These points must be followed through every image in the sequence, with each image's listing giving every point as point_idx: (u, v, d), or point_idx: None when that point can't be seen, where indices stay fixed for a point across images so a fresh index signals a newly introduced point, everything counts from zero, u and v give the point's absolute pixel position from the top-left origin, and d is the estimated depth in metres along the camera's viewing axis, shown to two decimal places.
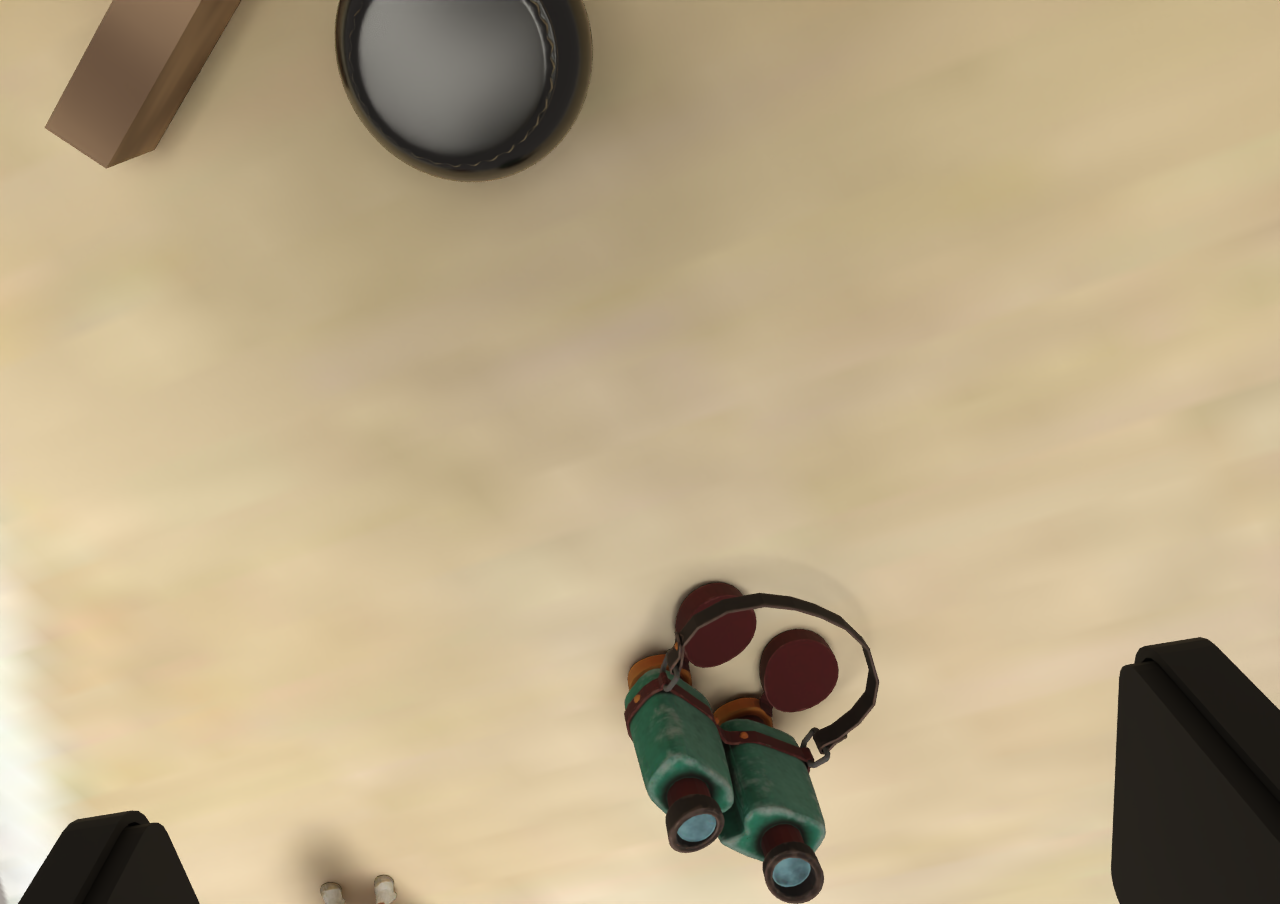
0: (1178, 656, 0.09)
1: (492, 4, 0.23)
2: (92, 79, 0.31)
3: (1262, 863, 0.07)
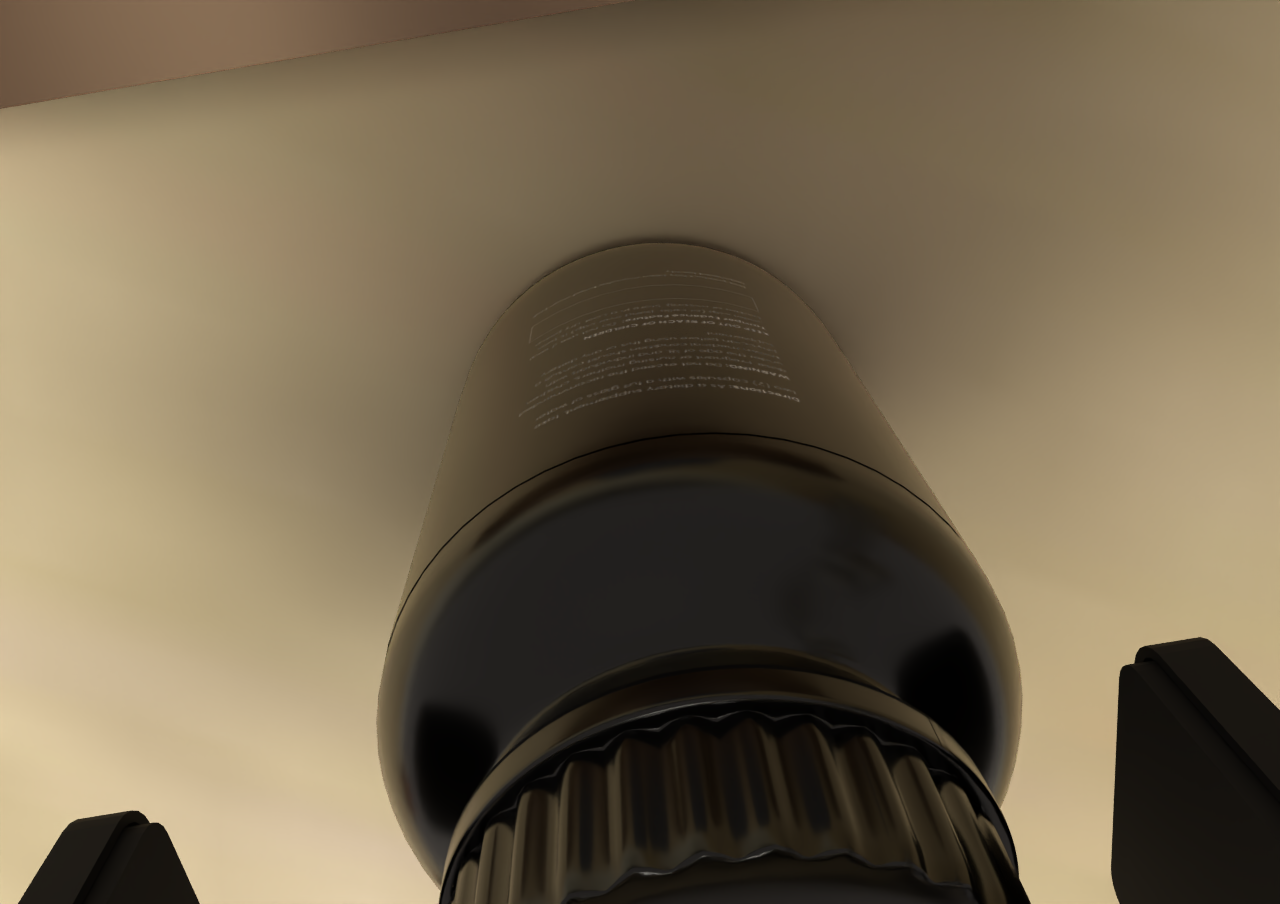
0: (1178, 656, 0.09)
1: None
2: None
3: (1262, 863, 0.07)
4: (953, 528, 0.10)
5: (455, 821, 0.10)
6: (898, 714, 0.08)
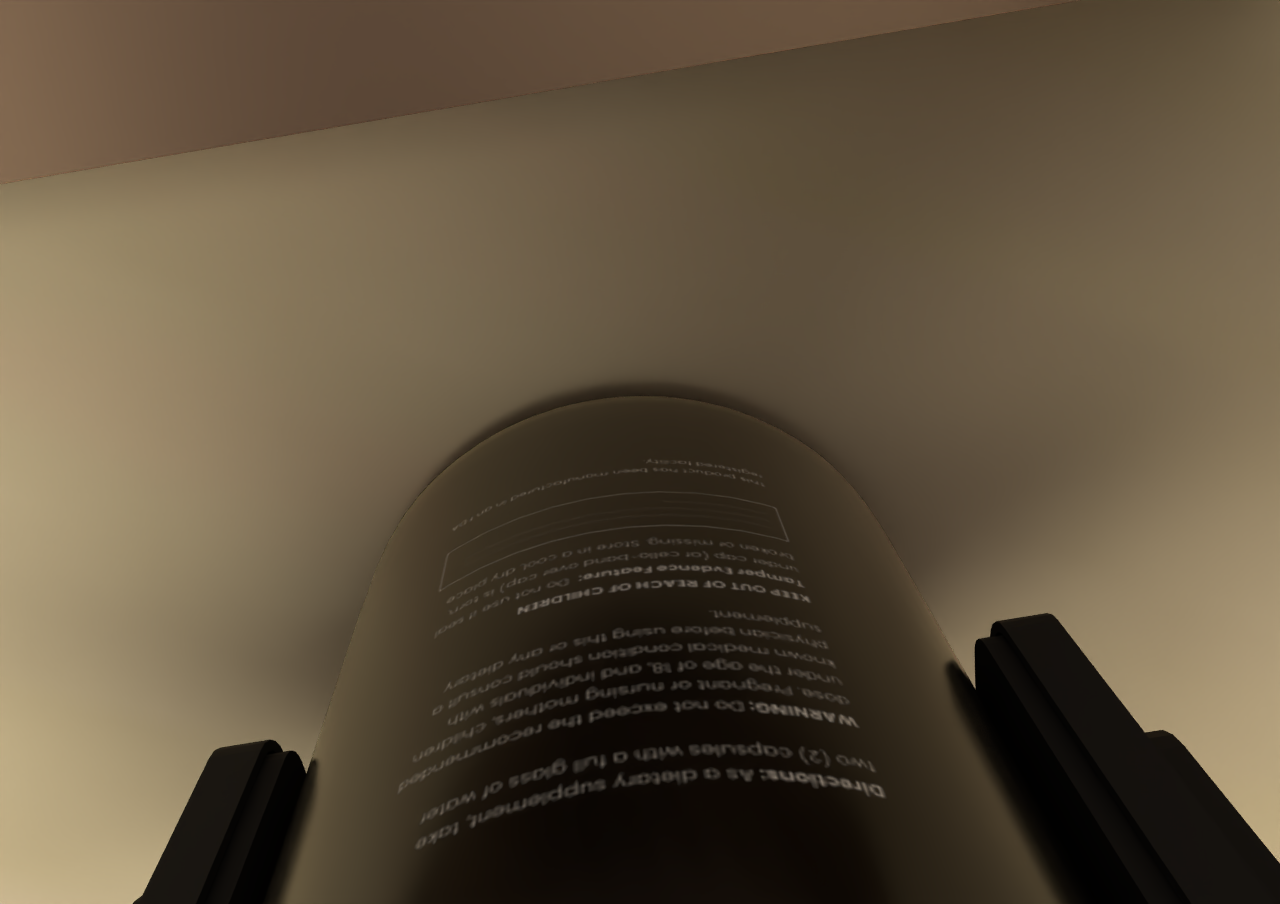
0: (1022, 629, 0.10)
1: None
2: None
3: (1071, 815, 0.08)
4: None
5: None
6: None
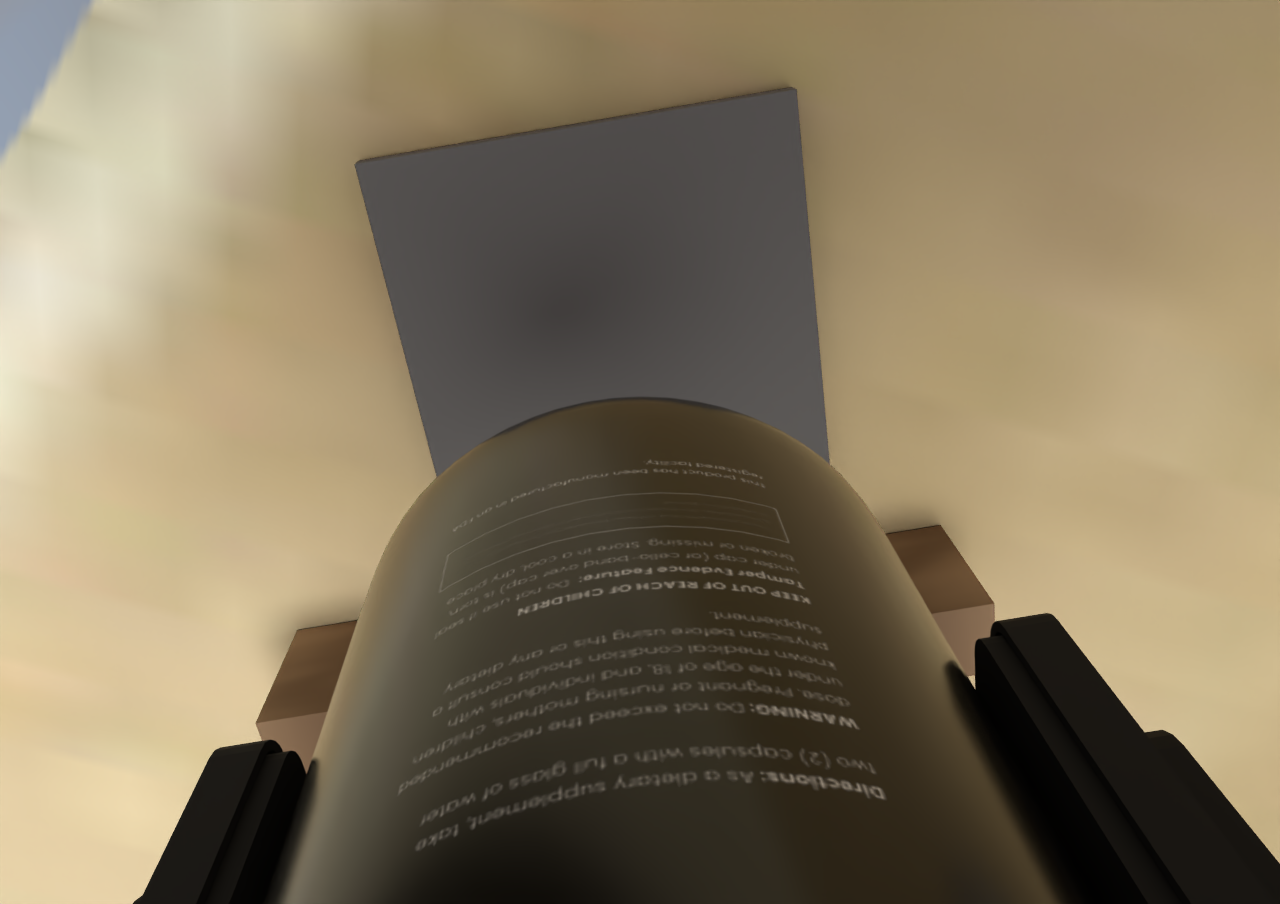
0: (1021, 629, 0.10)
1: None
2: None
3: (1070, 814, 0.08)
4: None
5: None
6: None
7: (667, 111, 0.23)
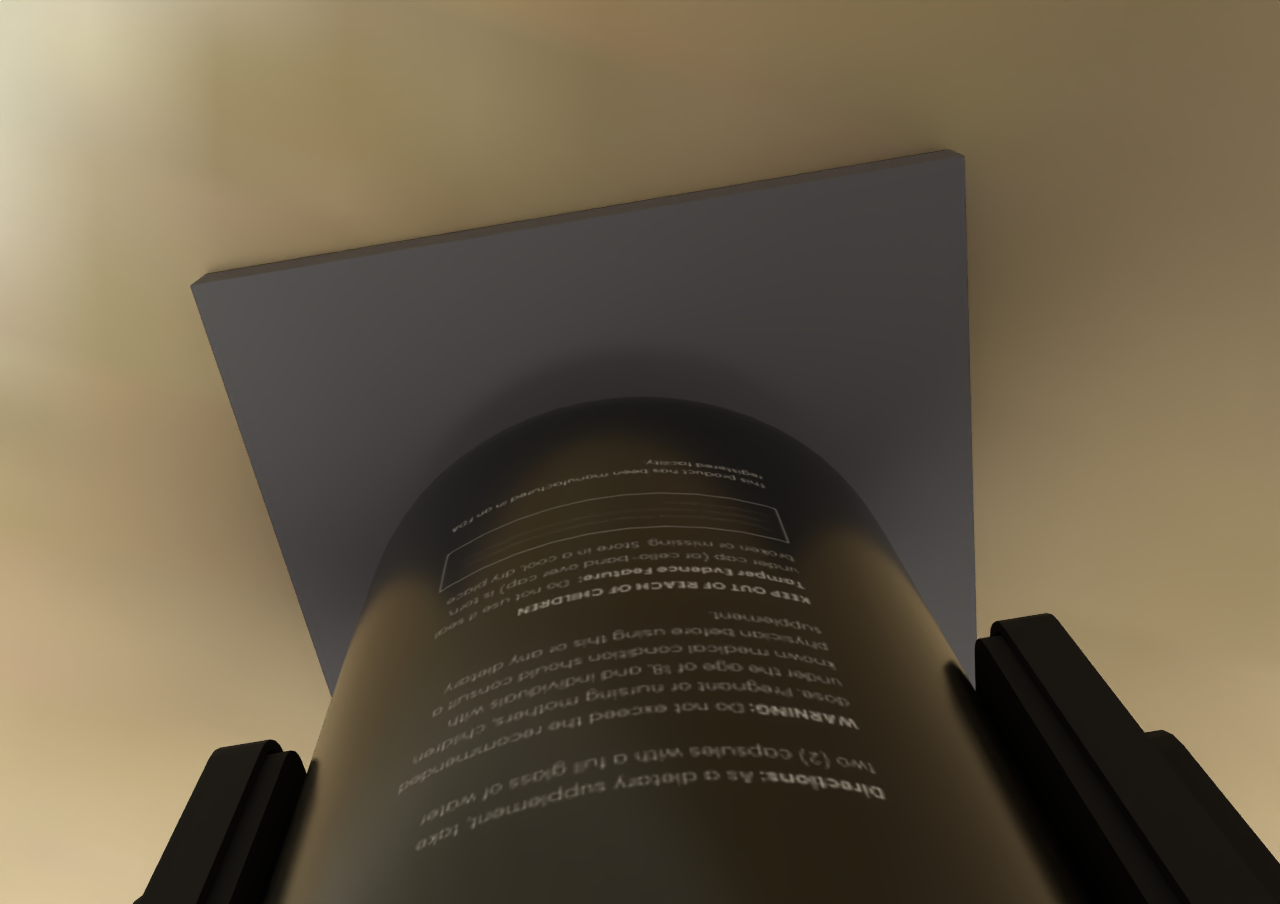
0: (1021, 629, 0.10)
1: None
2: None
3: (1070, 814, 0.08)
4: None
5: None
6: None
7: (737, 194, 0.13)
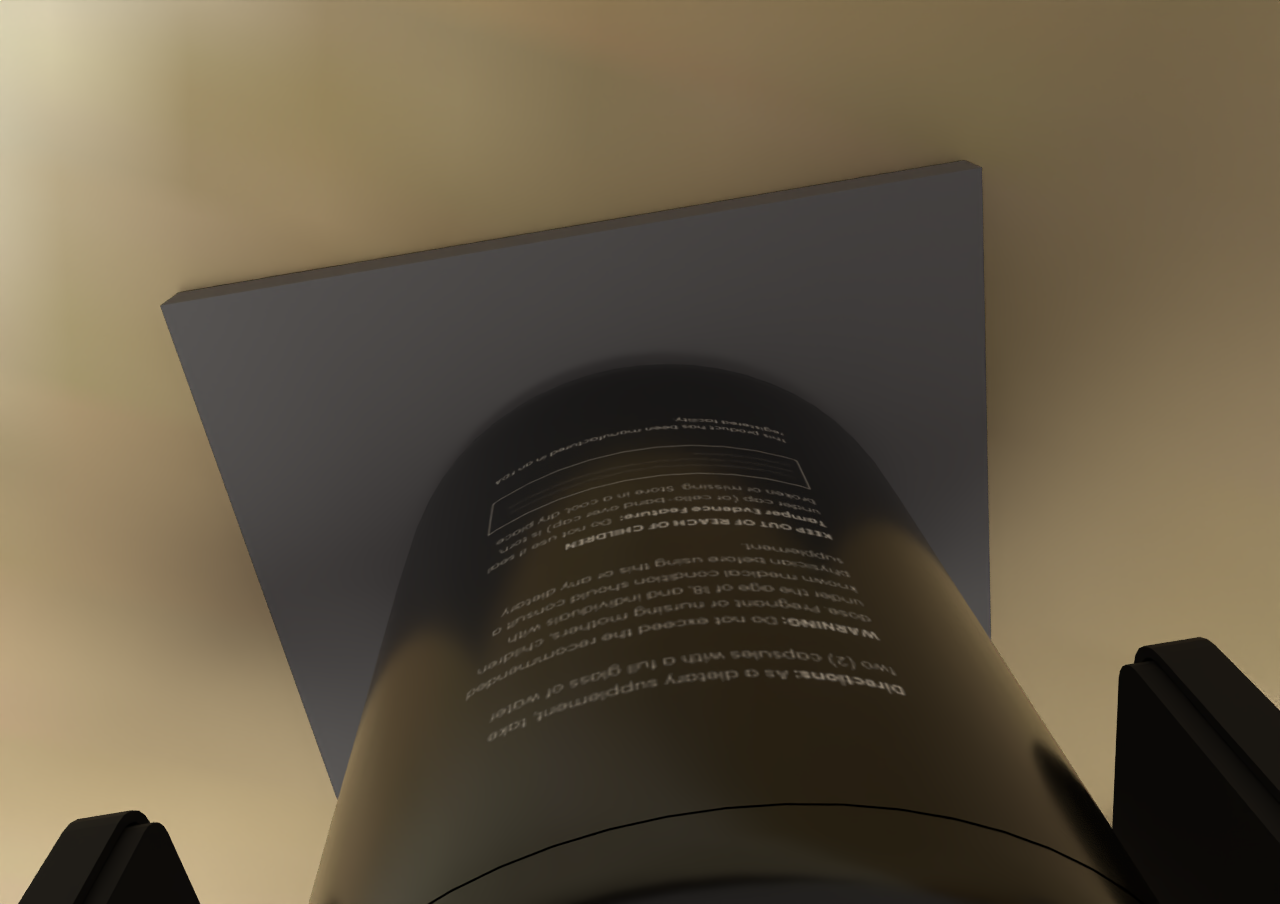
0: (1177, 656, 0.09)
1: None
2: None
3: (1261, 862, 0.07)
4: None
5: None
6: None
7: (741, 208, 0.12)
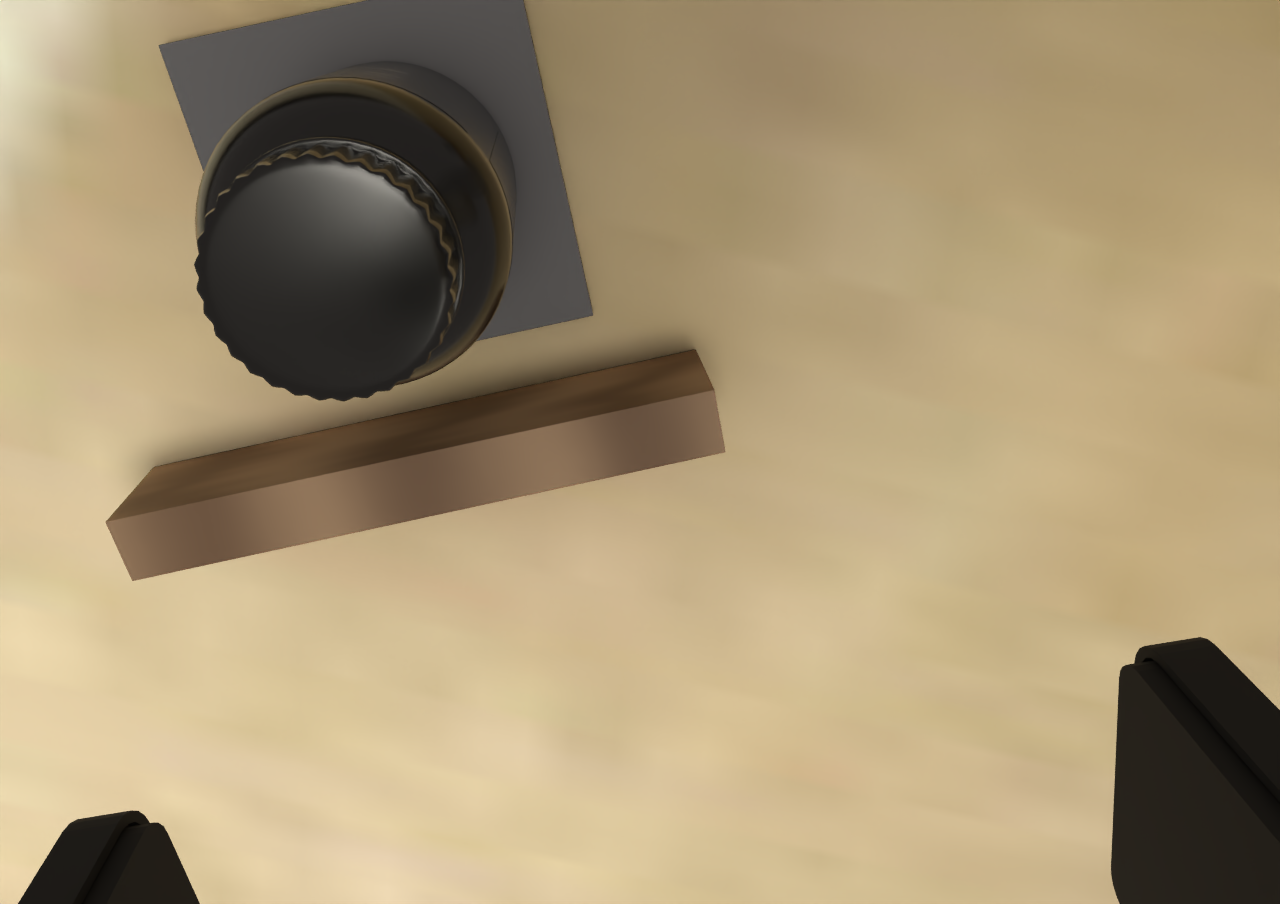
0: (1178, 656, 0.09)
1: (410, 266, 0.19)
2: (184, 521, 0.30)
3: (1262, 863, 0.07)
4: (462, 126, 0.22)
5: None
6: (388, 151, 0.20)
7: None
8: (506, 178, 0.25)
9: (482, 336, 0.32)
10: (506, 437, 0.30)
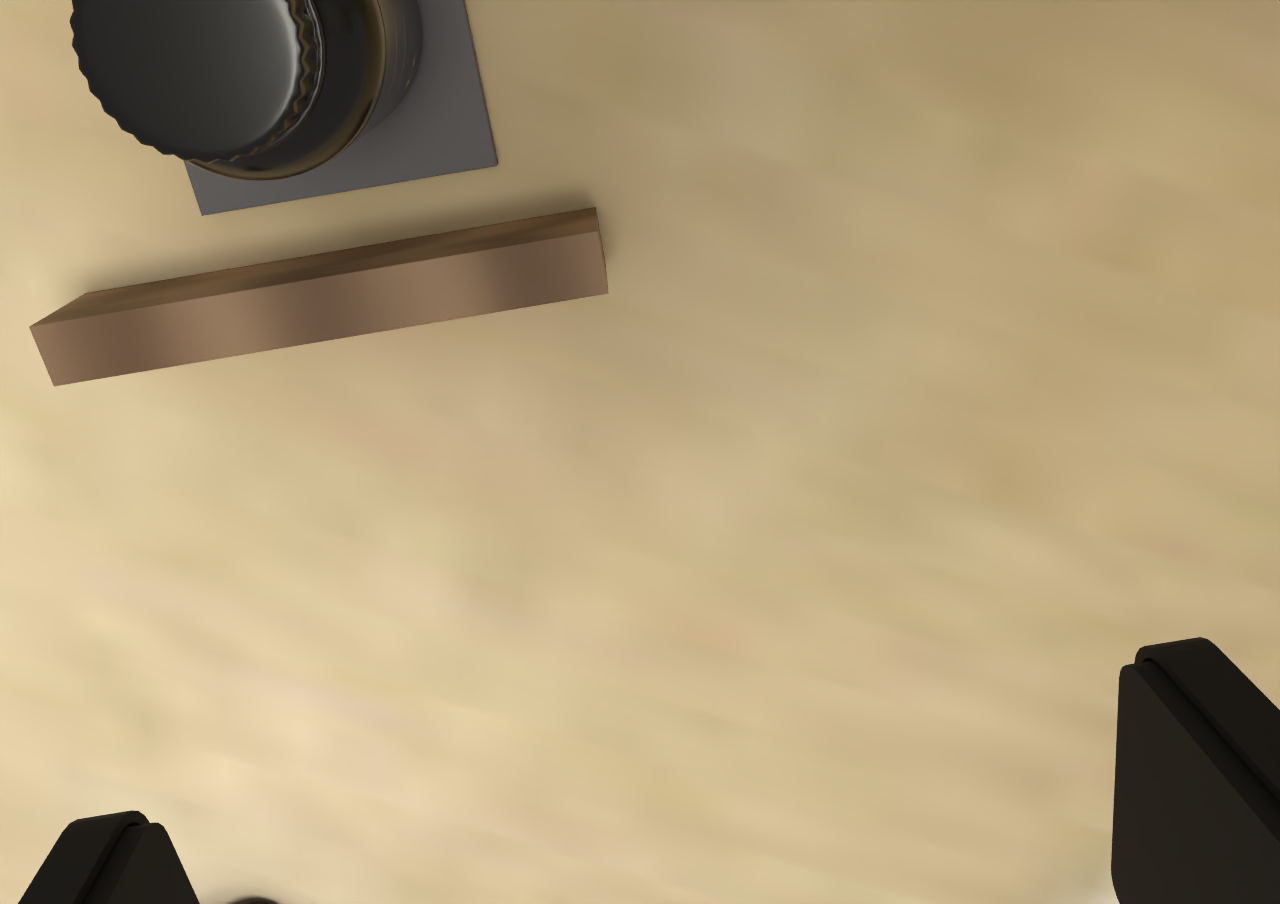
0: (1178, 656, 0.09)
1: (264, 35, 0.21)
2: (102, 330, 0.32)
3: (1262, 863, 0.07)
4: None
5: None
6: None
7: None
8: None
9: (392, 180, 0.34)
10: (402, 266, 0.32)
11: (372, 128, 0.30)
